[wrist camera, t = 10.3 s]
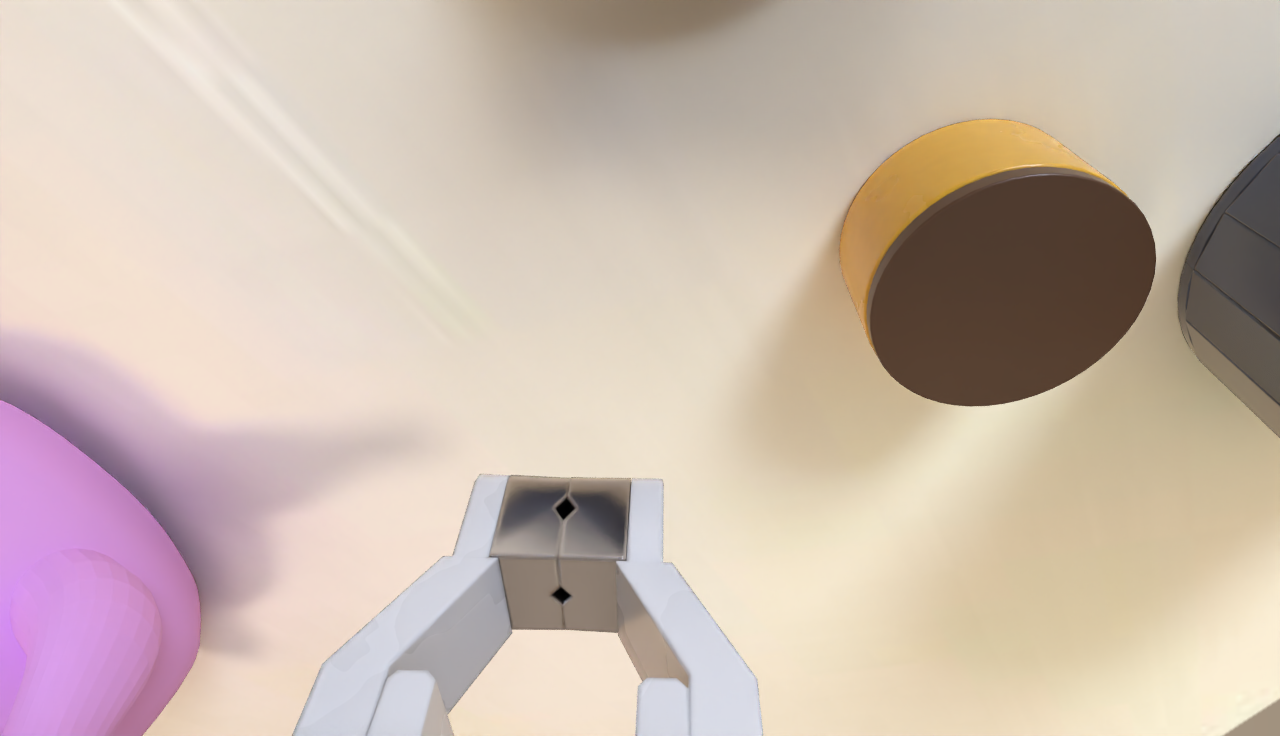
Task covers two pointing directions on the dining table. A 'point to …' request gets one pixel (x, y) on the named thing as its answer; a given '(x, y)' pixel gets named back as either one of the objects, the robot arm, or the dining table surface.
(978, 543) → the dining table surface
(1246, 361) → the pot
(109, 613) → the teapot
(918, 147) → the tin
